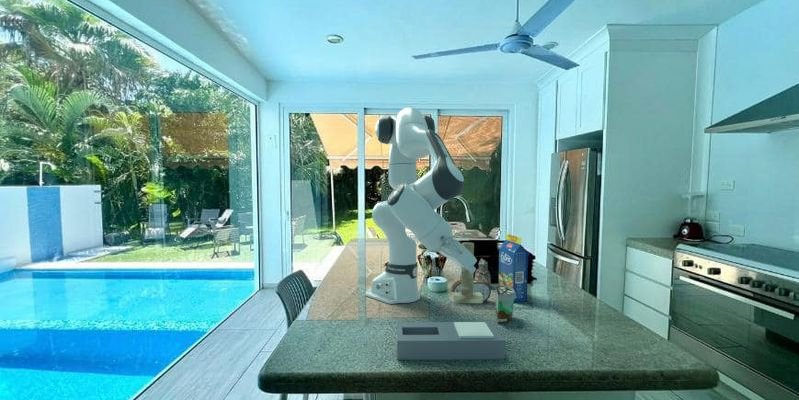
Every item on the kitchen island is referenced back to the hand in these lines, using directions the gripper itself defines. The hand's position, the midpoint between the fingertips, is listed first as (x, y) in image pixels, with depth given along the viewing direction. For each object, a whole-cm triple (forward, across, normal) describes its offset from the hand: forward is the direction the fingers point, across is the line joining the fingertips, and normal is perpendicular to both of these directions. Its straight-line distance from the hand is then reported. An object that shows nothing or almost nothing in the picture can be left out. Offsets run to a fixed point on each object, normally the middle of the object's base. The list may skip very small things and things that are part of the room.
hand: (469, 269), depth 95 cm
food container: (+31, +17, +1) cm, 35 cm away
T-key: (+6, 0, +7) cm, 9 cm away
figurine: (+37, +53, -5) cm, 65 cm away
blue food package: (+41, +37, -9) cm, 56 cm away
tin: (+28, +35, +4) cm, 45 cm away
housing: (+12, +1, +20) cm, 23 cm away
